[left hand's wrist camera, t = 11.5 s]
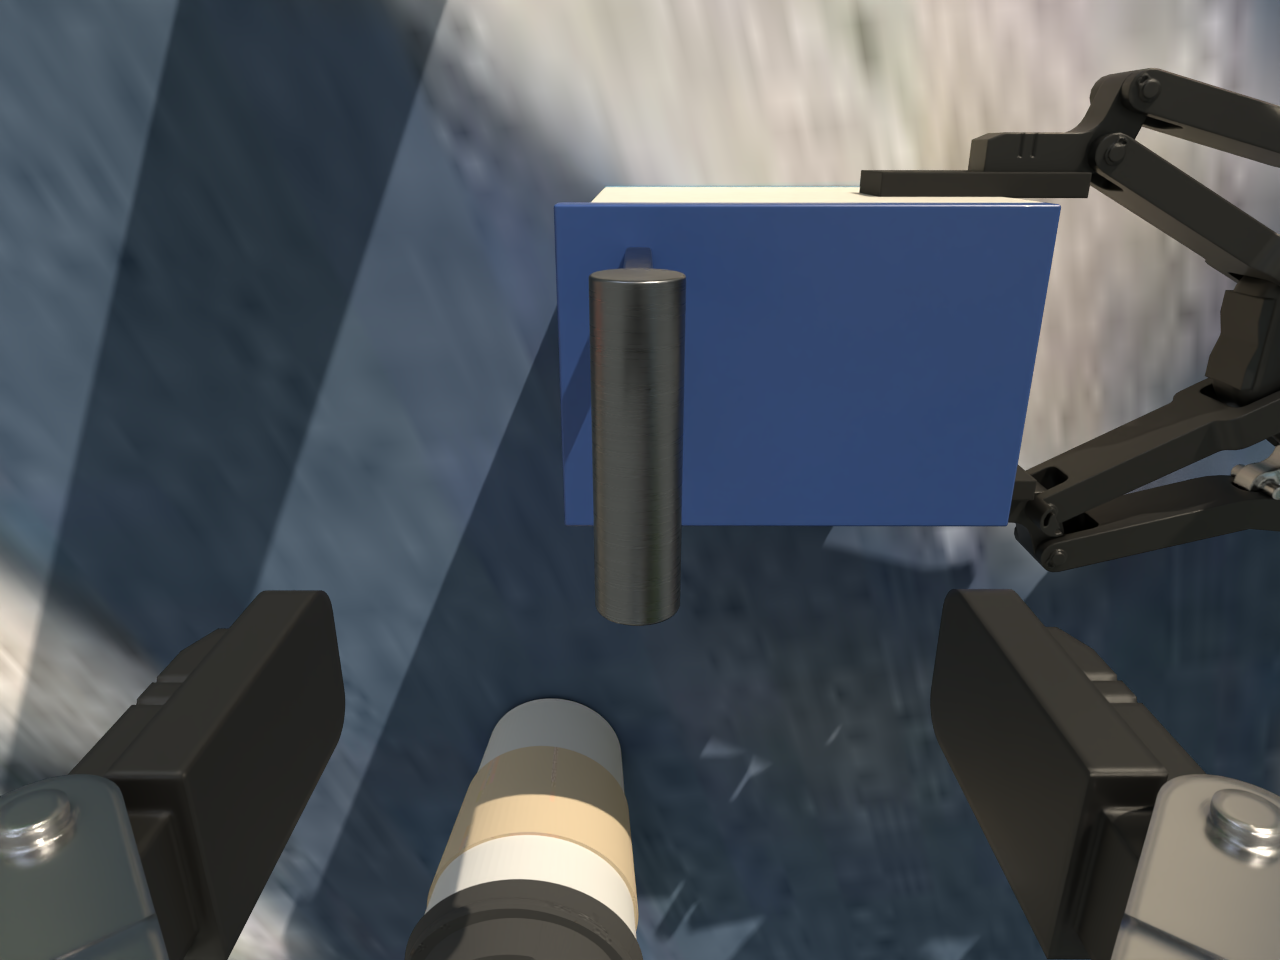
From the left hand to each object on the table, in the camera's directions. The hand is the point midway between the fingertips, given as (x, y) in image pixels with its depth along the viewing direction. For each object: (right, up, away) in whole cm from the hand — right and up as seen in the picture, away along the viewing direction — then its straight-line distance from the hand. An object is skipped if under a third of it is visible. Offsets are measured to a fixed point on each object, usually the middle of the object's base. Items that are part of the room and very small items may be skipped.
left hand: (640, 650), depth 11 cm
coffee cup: (-4, -12, +33) cm, 35 cm away
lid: (+5, +6, +15) cm, 16 cm away
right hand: (+8, +7, +19) cm, 21 cm away
